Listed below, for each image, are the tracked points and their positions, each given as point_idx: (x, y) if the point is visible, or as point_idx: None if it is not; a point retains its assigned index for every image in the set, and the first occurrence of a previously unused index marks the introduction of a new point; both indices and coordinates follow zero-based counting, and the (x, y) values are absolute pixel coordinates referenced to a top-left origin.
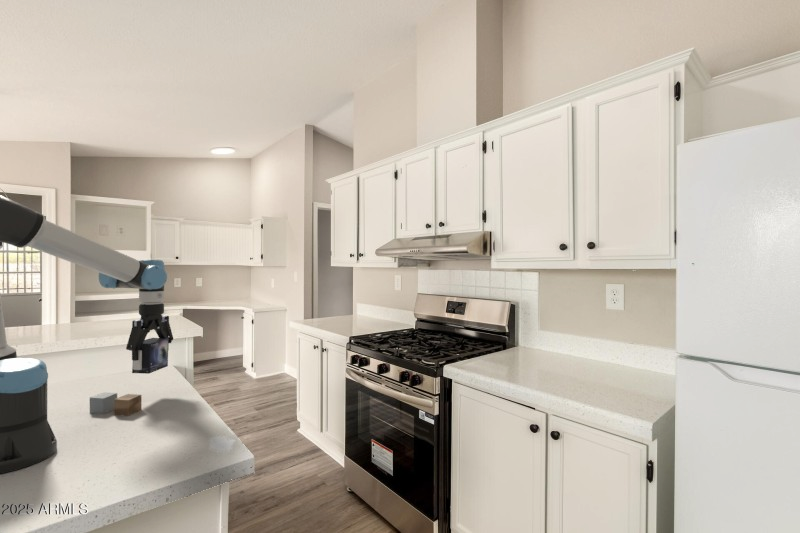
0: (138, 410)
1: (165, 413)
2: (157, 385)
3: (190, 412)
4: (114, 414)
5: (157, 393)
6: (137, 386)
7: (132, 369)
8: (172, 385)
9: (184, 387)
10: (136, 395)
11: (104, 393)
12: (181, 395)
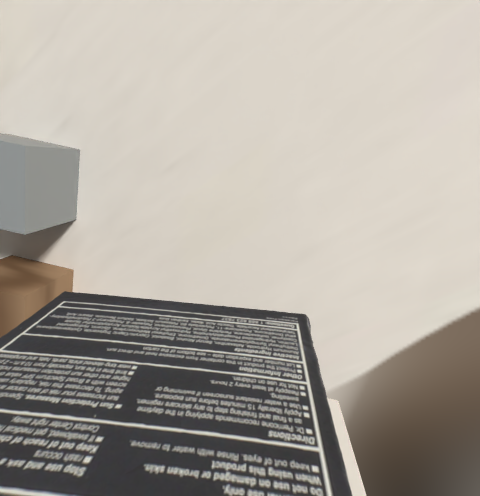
0: None
1: None
2: (408, 219)
3: None
4: (10, 256)
5: (265, 288)
6: (407, 105)
7: (43, 308)
8: (394, 298)
9: (349, 367)
10: None
11: (8, 164)
12: None
